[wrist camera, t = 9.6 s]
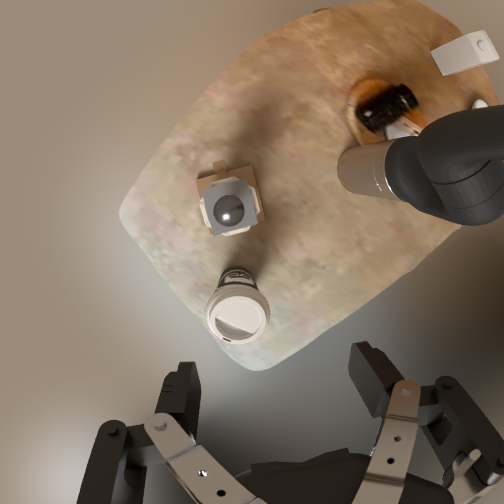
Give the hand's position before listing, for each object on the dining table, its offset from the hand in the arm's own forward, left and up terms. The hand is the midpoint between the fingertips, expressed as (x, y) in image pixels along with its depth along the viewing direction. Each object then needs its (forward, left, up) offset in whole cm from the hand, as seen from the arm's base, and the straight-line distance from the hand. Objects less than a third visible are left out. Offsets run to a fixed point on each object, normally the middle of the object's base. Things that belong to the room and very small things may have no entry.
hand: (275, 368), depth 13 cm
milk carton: (-59, -31, -38) cm, 77 cm away
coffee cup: (+4, +9, -38) cm, 40 cm away
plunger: (+1, -6, -32) cm, 33 cm away
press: (+1, -6, -38) cm, 39 cm away
